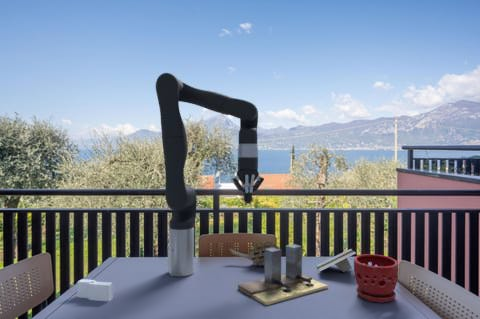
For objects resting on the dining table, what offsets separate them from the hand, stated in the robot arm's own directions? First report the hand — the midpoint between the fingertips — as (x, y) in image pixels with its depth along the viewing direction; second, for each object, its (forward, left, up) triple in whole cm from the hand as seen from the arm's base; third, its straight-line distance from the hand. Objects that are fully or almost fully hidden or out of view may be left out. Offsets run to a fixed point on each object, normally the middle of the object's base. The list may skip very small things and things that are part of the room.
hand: (247, 202), depth 131 cm
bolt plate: (+6, -21, -27) cm, 35 cm away
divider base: (+5, -15, -27) cm, 31 cm away
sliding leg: (+4, -16, -25) cm, 31 cm away
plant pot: (+29, -34, -27) cm, 52 cm away
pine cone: (+8, +10, -27) cm, 30 cm away
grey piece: (+33, -8, -27) cm, 44 cm away
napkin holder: (-52, 0, -28) cm, 59 cm away
